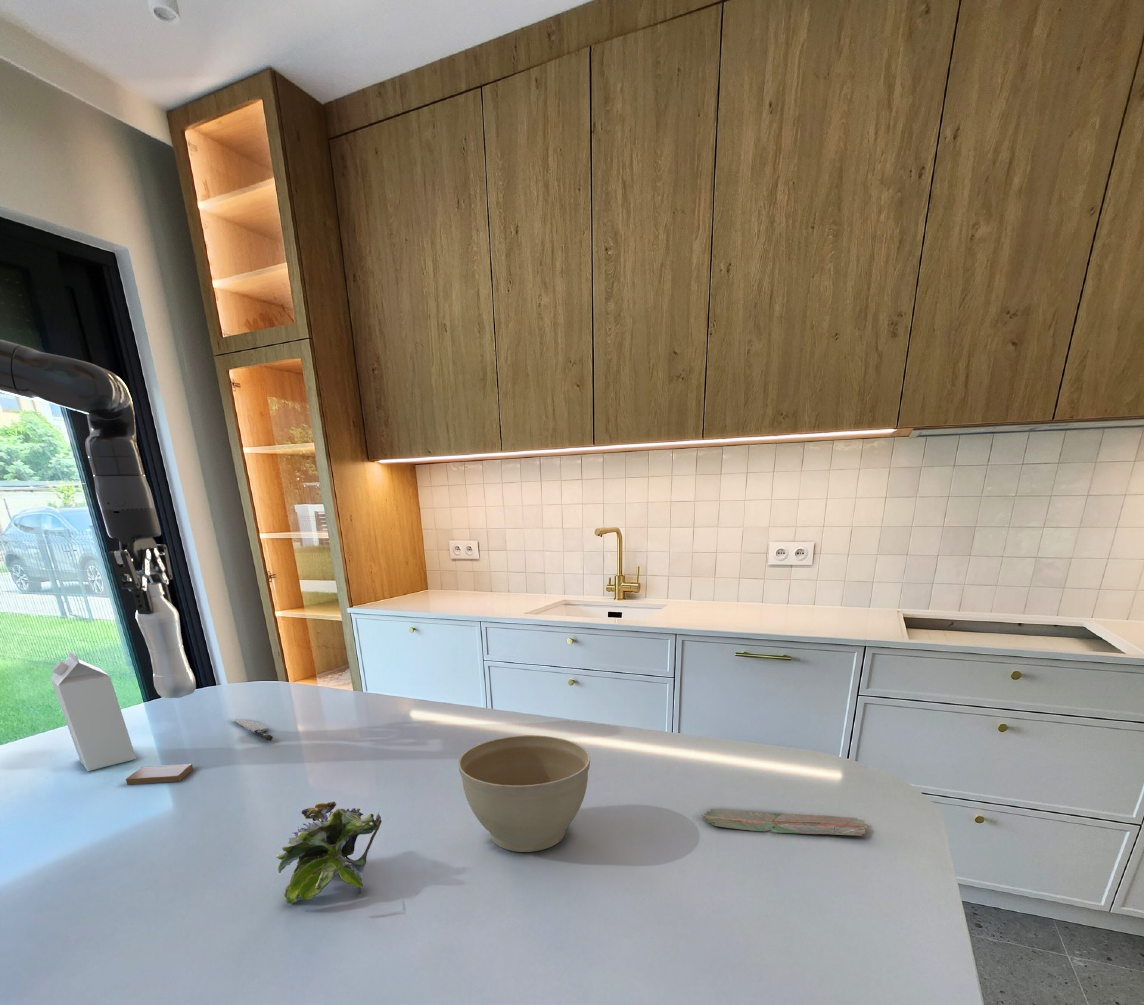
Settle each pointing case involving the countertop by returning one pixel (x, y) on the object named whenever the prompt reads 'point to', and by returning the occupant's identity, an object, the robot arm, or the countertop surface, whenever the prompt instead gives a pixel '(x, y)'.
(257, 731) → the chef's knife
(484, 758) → the planter bowl
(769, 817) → the map
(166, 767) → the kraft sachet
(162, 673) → the plastic bottle
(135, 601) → the robot arm
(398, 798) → the countertop surface
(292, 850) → the passion flower
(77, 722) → the milk carton
